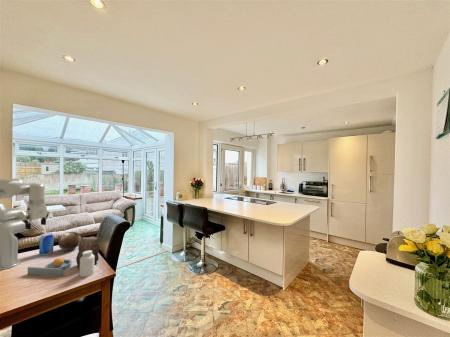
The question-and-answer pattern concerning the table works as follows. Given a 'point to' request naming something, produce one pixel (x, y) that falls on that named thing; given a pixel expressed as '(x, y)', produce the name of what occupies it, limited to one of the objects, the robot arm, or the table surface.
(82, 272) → the pill bottle
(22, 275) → the table surface
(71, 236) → the wooden sphere
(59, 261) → the ball
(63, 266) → the bowl
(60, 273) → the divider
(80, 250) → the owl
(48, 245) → the beer can
